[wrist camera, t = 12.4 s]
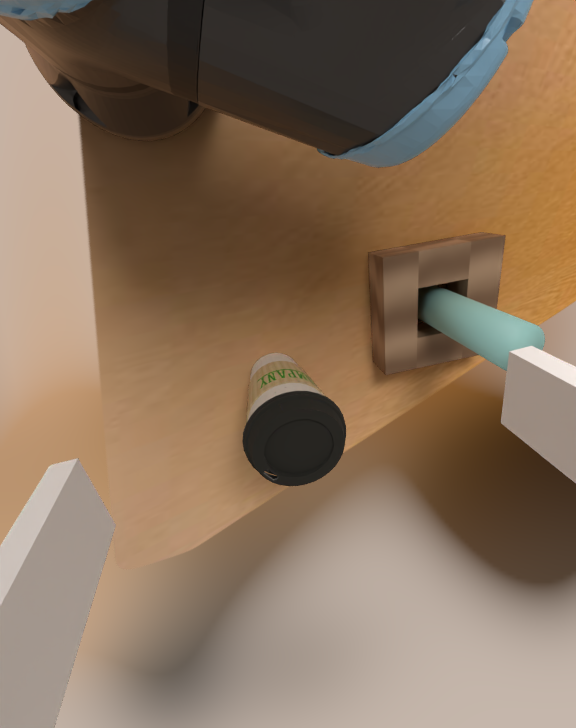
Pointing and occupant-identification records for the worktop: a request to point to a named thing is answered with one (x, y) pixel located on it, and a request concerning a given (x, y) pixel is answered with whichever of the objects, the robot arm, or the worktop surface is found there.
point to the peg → (477, 324)
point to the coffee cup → (290, 424)
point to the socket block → (422, 269)
